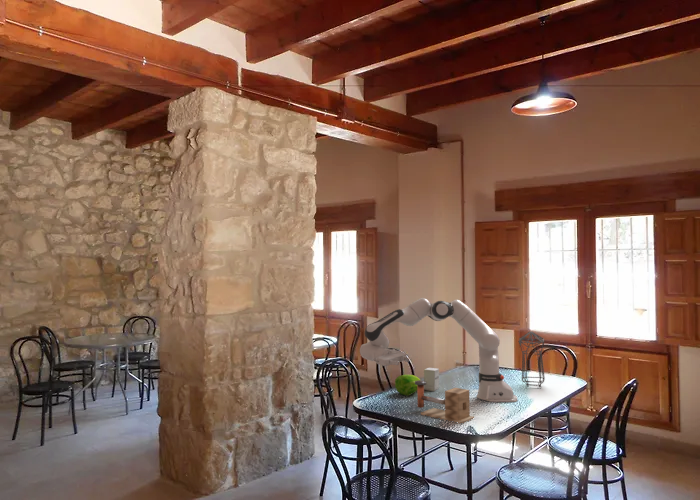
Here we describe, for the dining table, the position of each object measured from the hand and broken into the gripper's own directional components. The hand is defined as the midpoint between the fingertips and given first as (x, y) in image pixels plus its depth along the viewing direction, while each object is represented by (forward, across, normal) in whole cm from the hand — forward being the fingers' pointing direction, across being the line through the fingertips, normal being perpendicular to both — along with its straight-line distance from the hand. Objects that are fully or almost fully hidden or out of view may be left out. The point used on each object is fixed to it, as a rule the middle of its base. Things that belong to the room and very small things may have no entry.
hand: (403, 361), depth 278 cm
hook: (+20, -1, +20) cm, 28 cm away
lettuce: (-11, +24, +27) cm, 38 cm away
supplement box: (-8, +42, +28) cm, 51 cm away
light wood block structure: (+30, -1, +21) cm, 36 cm away
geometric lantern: (+35, +91, +25) cm, 101 cm away
